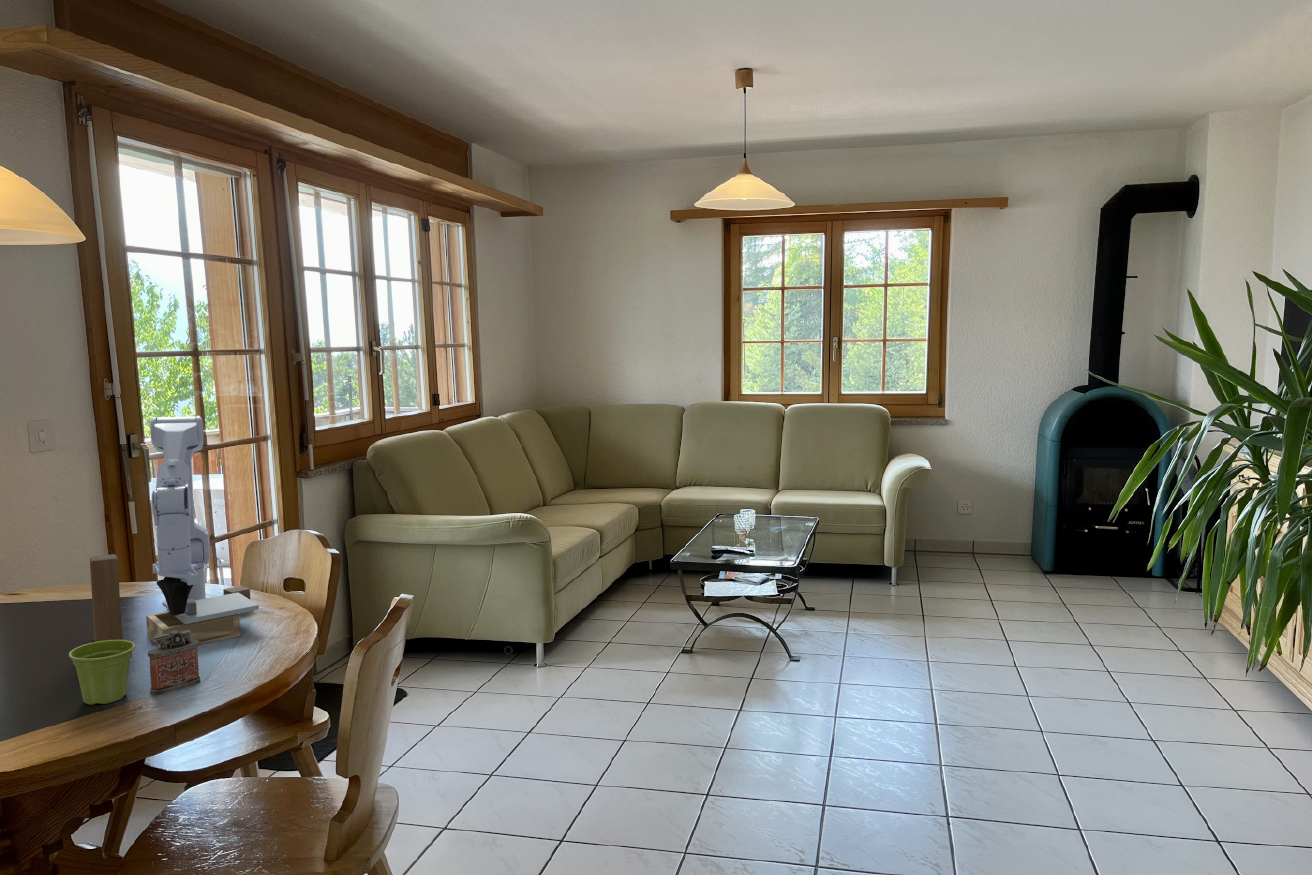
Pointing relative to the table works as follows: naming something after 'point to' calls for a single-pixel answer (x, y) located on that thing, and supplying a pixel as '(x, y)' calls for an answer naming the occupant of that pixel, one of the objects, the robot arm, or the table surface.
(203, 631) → the brown piece
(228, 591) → the small brown block
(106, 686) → the plant pot
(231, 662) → the table surface
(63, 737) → the table surface
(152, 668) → the lighter
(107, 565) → the wooden block
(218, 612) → the toolbox lid
